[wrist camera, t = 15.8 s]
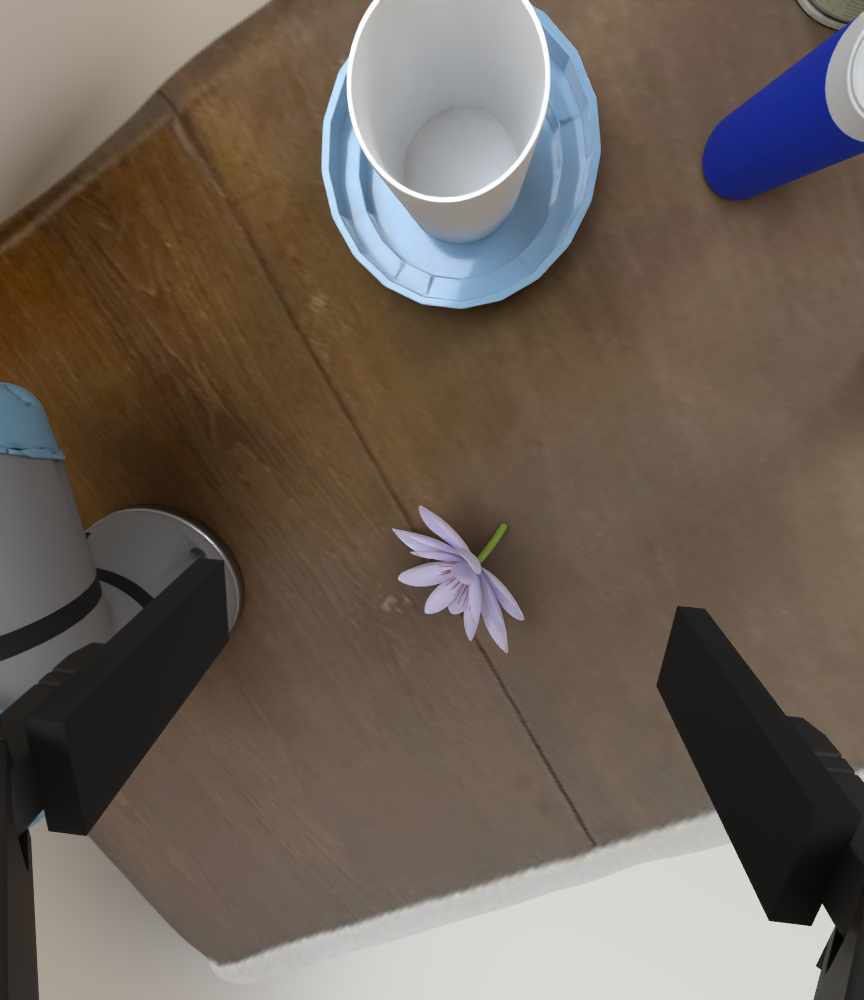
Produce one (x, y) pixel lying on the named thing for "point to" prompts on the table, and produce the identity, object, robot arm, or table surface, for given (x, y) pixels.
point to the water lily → (459, 578)
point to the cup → (450, 106)
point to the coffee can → (833, 11)
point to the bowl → (506, 251)
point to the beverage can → (793, 121)
